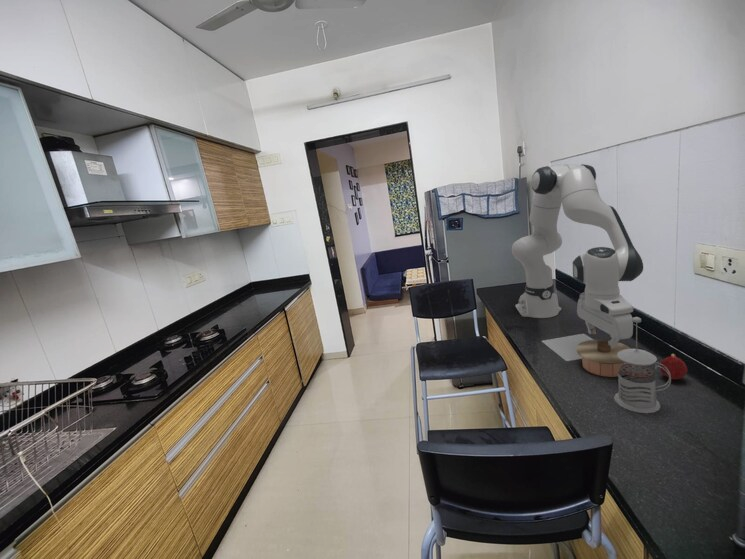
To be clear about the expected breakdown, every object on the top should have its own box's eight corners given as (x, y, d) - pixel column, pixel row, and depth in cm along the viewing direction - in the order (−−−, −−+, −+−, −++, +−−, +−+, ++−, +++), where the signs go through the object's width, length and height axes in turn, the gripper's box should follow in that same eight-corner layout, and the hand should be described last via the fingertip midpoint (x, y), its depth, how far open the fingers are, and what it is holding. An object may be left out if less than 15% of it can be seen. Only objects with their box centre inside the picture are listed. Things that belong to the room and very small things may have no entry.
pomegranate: (692, 384, 88) (693, 358, 87) (668, 385, 90) (668, 360, 88) (677, 373, 94) (678, 349, 92) (654, 374, 95) (655, 350, 94)
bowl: (574, 361, 109) (573, 347, 108) (609, 355, 109) (609, 341, 107) (598, 380, 98) (598, 364, 96) (638, 373, 97) (638, 357, 96)
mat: (541, 341, 126) (541, 340, 126) (583, 334, 126) (583, 333, 126) (566, 362, 110) (566, 361, 110) (615, 353, 109) (615, 352, 109)
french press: (614, 387, 93) (613, 309, 87) (668, 397, 86) (671, 311, 80) (612, 407, 86) (611, 322, 80) (671, 419, 78) (674, 327, 73)
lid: (566, 346, 110) (566, 336, 109) (610, 338, 109) (610, 328, 108) (596, 367, 95) (596, 356, 94) (647, 359, 94) (647, 347, 93)
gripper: (571, 292, 108) (572, 328, 111) (615, 312, 88) (615, 356, 92) (589, 289, 108) (590, 325, 111) (638, 308, 88) (637, 352, 91)
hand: (602, 339), depth 101 cm, fingers open, 8 cm apart
